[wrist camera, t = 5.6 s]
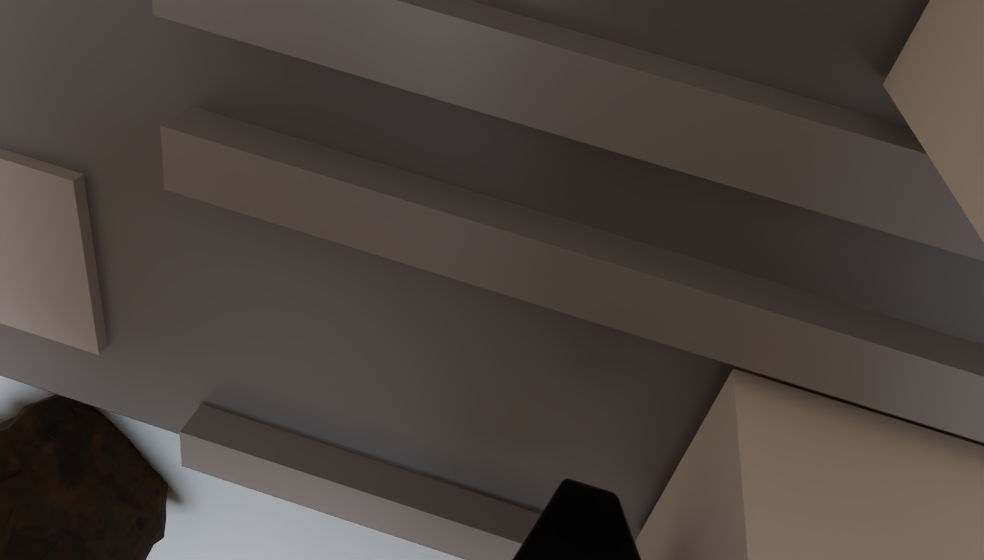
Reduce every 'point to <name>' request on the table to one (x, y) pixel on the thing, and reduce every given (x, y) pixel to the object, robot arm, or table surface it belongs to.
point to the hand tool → (75, 487)
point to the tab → (816, 484)
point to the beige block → (947, 96)
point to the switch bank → (472, 239)
